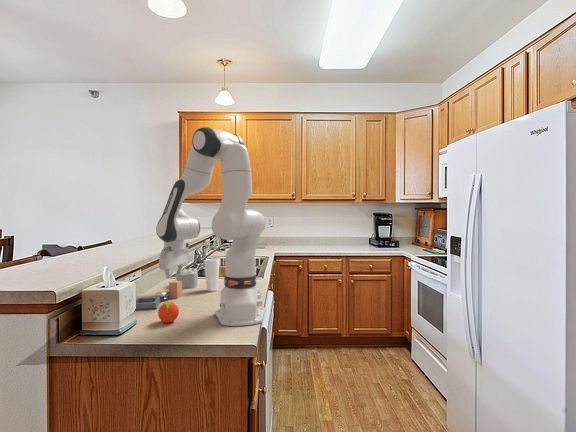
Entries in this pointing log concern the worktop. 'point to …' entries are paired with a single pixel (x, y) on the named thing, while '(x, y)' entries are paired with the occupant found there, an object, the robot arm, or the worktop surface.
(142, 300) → the tray
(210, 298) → the worktop surface
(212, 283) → the drinking glass
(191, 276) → the grey animal paw
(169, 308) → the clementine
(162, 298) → the crank base
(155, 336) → the worktop surface
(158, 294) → the crank
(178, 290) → the block
